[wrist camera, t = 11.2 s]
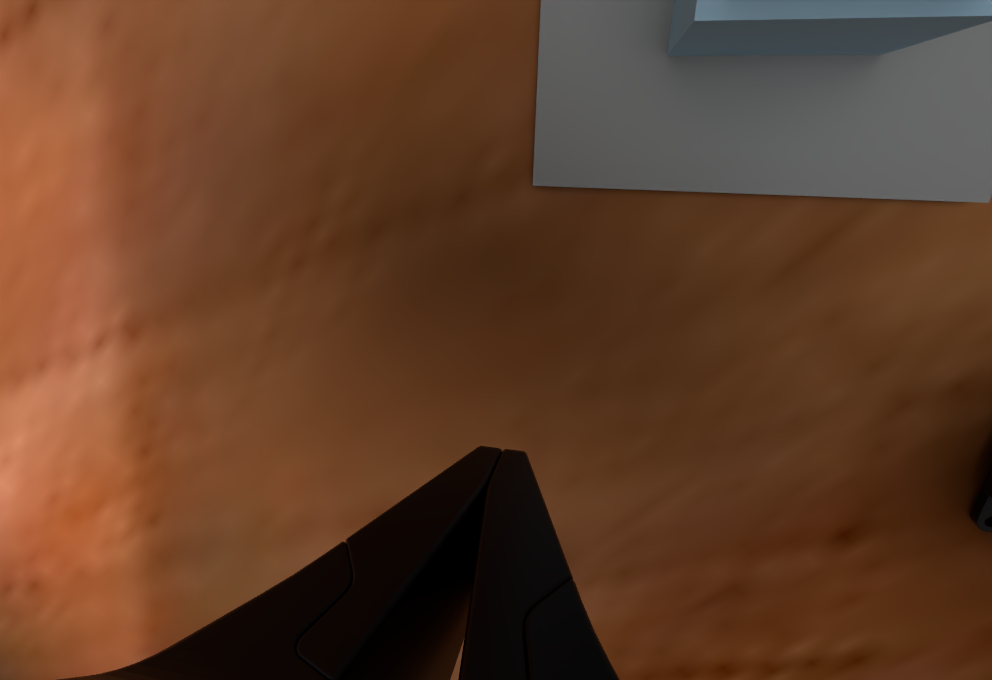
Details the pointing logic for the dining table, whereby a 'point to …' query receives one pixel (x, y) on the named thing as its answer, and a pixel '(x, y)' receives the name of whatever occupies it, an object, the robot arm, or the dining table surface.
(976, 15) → the bottom brick
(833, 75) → the base mat
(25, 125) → the dining table surface
